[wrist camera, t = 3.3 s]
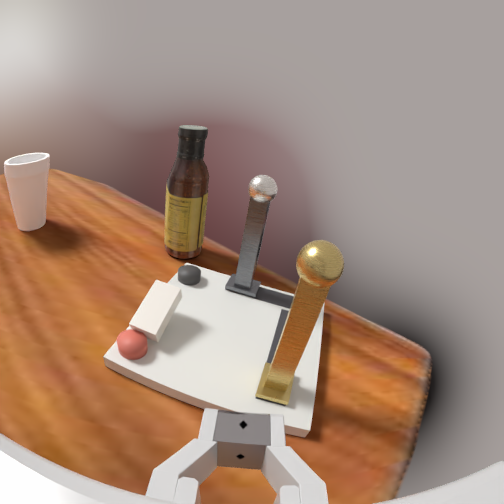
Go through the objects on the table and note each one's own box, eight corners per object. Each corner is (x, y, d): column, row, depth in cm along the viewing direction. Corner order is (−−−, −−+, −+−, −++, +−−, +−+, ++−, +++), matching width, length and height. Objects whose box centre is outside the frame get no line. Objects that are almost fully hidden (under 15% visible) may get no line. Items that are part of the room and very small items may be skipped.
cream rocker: (132, 331, 28) (129, 323, 27) (158, 288, 32) (156, 279, 31) (158, 342, 27) (155, 334, 26) (182, 297, 32) (181, 288, 30)
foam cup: (28, 239, 41) (21, 166, 35) (3, 228, 42) (-5, 163, 36) (61, 219, 49) (59, 154, 43) (34, 211, 50) (31, 151, 44)
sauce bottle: (183, 238, 51) (197, 123, 42) (209, 253, 49) (228, 130, 39) (154, 249, 46) (163, 123, 37) (180, 266, 44) (194, 129, 34)
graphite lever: (224, 288, 38) (244, 174, 31) (232, 276, 41) (251, 169, 34) (254, 297, 37) (281, 182, 30) (260, 284, 40) (285, 177, 33)
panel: (105, 366, 25) (101, 348, 24) (185, 271, 43) (186, 255, 41) (304, 437, 22) (314, 424, 21) (320, 311, 40) (327, 295, 39)
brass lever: (253, 395, 24) (300, 249, 17) (263, 365, 28) (305, 225, 21) (288, 405, 24) (352, 263, 17) (294, 373, 27) (348, 237, 20)
